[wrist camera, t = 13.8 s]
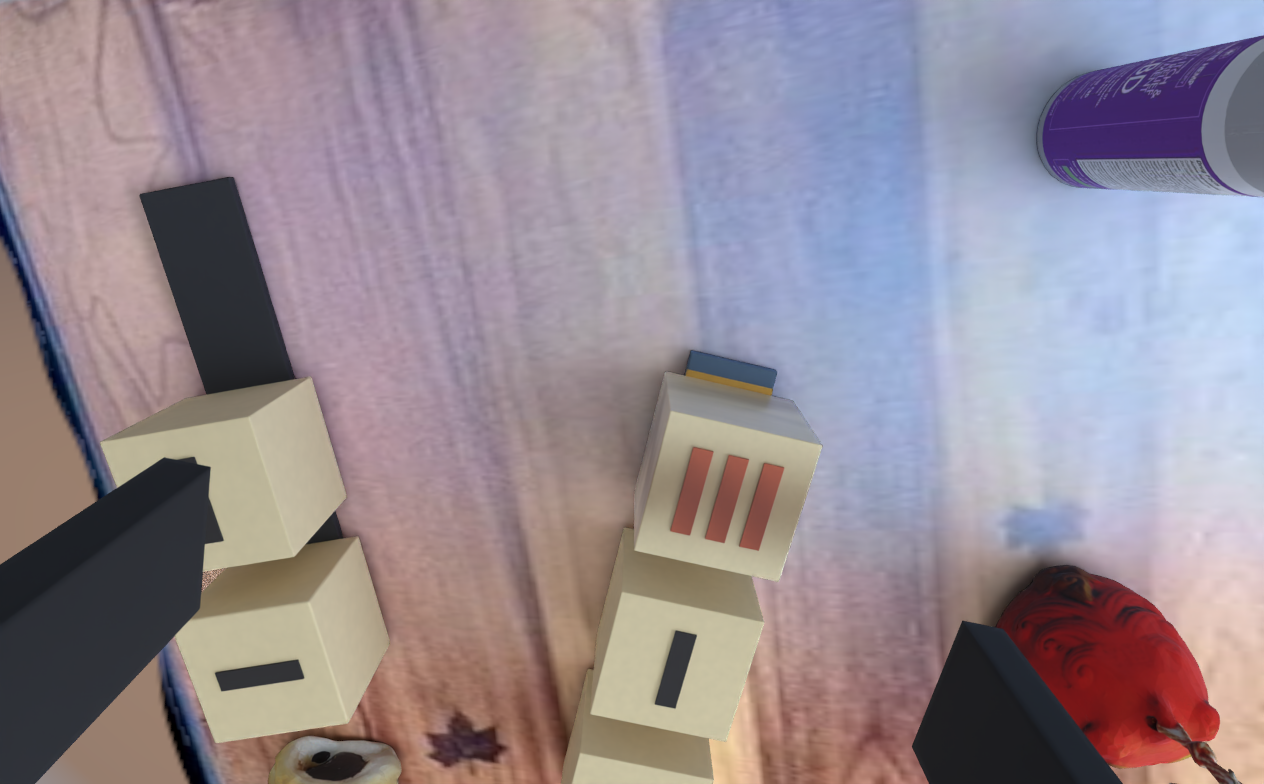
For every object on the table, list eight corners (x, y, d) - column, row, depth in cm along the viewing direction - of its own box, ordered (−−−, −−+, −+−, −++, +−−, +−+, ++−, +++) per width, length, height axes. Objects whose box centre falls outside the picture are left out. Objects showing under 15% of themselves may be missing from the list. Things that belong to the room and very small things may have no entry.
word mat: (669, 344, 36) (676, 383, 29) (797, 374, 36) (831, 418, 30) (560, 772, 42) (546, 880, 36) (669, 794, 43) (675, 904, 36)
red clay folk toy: (994, 695, 41) (1191, 986, 26) (962, 580, 39) (1154, 823, 24) (1143, 652, 40) (1430, 926, 25) (1117, 532, 38) (1410, 754, 24)
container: (1075, 50, 32) (1428, -43, 18) (1172, 99, 33) (1592, 48, 18) (1014, 160, 33) (1300, 155, 19) (1108, 206, 34) (1456, 235, 20)
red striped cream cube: (665, 370, 36) (670, 410, 30) (793, 400, 36) (824, 446, 30) (634, 491, 37) (633, 551, 31) (757, 518, 37) (779, 584, 32)
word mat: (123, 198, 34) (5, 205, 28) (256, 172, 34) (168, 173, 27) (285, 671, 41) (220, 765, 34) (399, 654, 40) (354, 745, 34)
